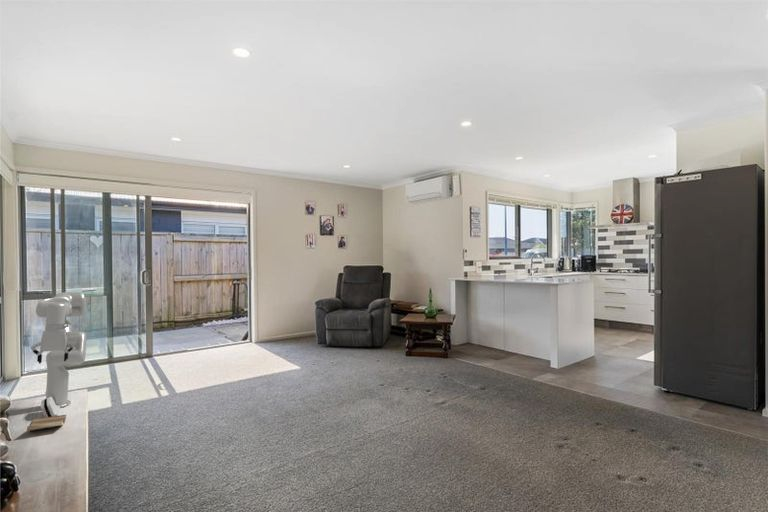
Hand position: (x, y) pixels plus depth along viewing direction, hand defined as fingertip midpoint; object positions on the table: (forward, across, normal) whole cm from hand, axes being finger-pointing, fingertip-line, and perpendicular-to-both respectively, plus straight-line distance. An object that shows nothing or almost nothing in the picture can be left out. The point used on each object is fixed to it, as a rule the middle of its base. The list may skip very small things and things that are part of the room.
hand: (52, 362), depth 195 cm
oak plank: (+30, 0, +9) cm, 31 cm away
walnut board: (+31, 0, -3) cm, 31 cm away
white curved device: (+31, +1, -18) cm, 36 cm away
